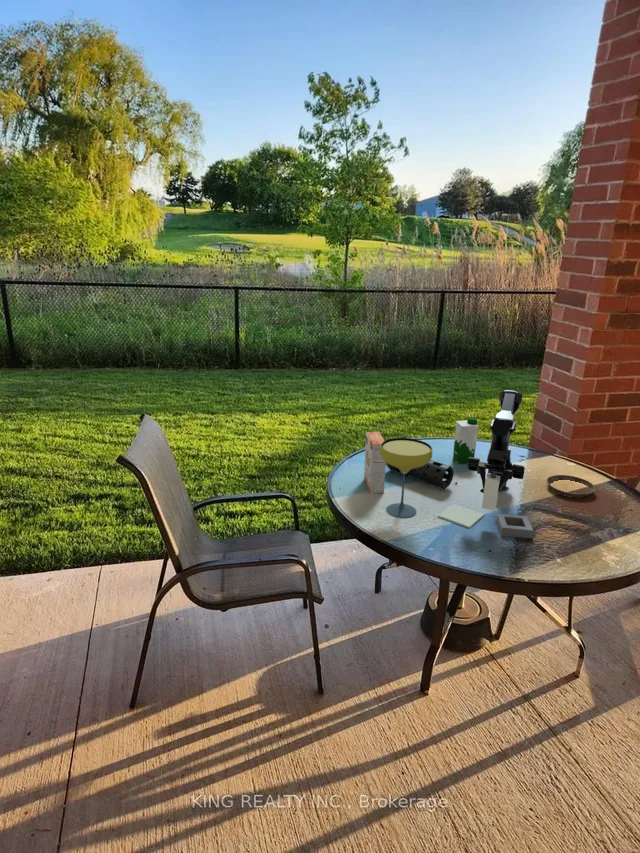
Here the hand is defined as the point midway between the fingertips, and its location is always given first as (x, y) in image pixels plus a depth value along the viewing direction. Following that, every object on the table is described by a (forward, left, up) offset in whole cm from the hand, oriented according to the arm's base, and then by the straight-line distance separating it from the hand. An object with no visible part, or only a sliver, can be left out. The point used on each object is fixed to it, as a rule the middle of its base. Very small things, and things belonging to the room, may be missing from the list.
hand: (490, 490), depth 175 cm
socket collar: (-7, +6, -13) cm, 16 cm away
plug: (-1, -1, -7) cm, 7 cm away
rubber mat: (+3, -9, -13) cm, 17 cm away
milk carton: (-34, -50, -14) cm, 62 cm away
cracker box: (+18, -44, -14) cm, 49 cm away
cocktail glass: (+20, -22, -14) cm, 33 cm away
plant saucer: (-52, -8, -14) cm, 54 cm away
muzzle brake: (-2, -42, -14) cm, 44 cm away
